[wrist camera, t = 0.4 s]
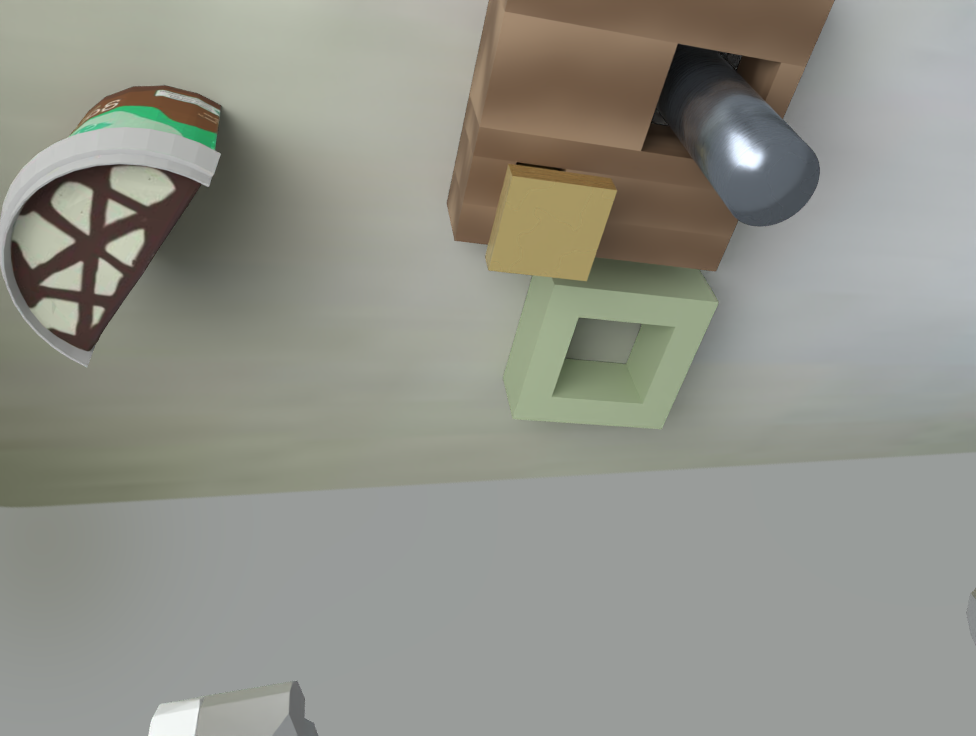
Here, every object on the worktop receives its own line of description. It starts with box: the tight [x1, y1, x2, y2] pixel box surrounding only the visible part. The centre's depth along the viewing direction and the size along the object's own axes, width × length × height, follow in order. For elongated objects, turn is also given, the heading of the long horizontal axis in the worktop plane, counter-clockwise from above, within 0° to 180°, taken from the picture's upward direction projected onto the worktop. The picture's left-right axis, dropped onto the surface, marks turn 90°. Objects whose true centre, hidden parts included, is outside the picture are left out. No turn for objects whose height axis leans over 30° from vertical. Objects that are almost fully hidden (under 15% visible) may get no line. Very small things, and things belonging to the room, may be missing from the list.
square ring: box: [503, 257, 719, 429], centre depth 54 cm, size 10×10×4 cm
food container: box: [0, 85, 221, 367], centre depth 40 cm, size 12×6×10 cm, turn 140°
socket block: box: [447, 0, 835, 271], centre depth 44 cm, size 15×15×4 cm
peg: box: [656, 44, 820, 226], centre depth 41 cm, size 4×4×12 cm
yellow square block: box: [485, 162, 617, 281], centre depth 43 cm, size 5×5×5 cm
